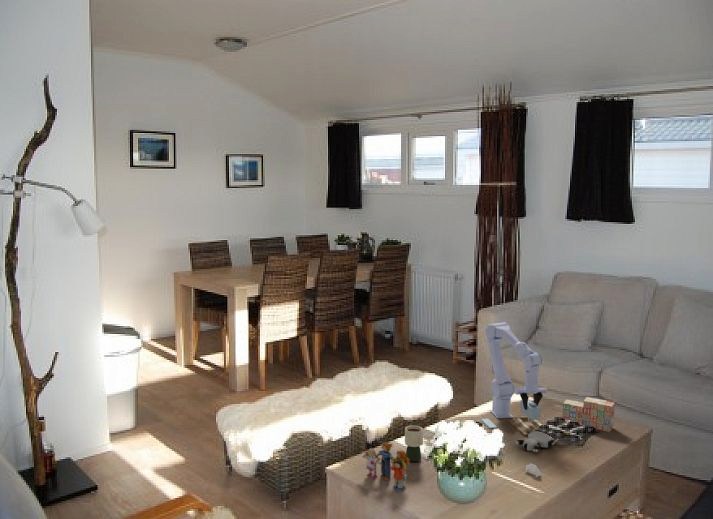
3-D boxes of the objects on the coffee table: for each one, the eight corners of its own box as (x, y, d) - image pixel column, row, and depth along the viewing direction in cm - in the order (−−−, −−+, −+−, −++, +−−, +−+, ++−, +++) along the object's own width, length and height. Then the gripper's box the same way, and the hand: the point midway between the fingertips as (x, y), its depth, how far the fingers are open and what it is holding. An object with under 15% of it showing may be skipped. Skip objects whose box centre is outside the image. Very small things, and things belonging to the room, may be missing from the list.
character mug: (428, 462, 250) (429, 431, 248) (414, 467, 246) (415, 435, 244) (411, 452, 259) (412, 422, 257) (397, 456, 255) (398, 426, 253)
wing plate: (480, 421, 294) (481, 419, 294) (488, 421, 295) (488, 418, 295) (489, 430, 285) (489, 427, 285) (496, 429, 285) (497, 426, 285)
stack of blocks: (561, 422, 294) (563, 396, 292) (565, 418, 299) (566, 392, 297) (610, 432, 282) (612, 406, 281) (613, 428, 287) (614, 402, 286)
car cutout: (545, 475, 241) (546, 464, 241) (535, 481, 237) (536, 469, 236) (512, 462, 252) (512, 451, 252) (502, 467, 248) (502, 456, 247)
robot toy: (536, 459, 257) (559, 447, 266) (536, 448, 256) (559, 437, 265) (512, 448, 266) (534, 437, 275) (512, 438, 266) (534, 427, 274)
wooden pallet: (509, 422, 292) (510, 416, 292) (534, 420, 294) (534, 414, 294) (524, 436, 277) (524, 429, 276) (549, 434, 279) (550, 428, 278)
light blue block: (520, 410, 290) (520, 397, 290) (528, 410, 291) (529, 397, 290) (531, 420, 279) (532, 406, 278) (540, 419, 279) (540, 406, 279)
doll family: (360, 474, 240) (361, 441, 238) (377, 466, 247) (378, 433, 245) (403, 493, 225) (404, 458, 224) (420, 484, 232) (421, 450, 231)
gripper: (519, 383, 278) (518, 412, 279) (550, 381, 280) (549, 411, 282) (513, 378, 284) (512, 407, 286) (543, 376, 287) (542, 405, 289)
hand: (530, 408), depth 284 cm, fingers closed on light blue block, 4 cm apart
